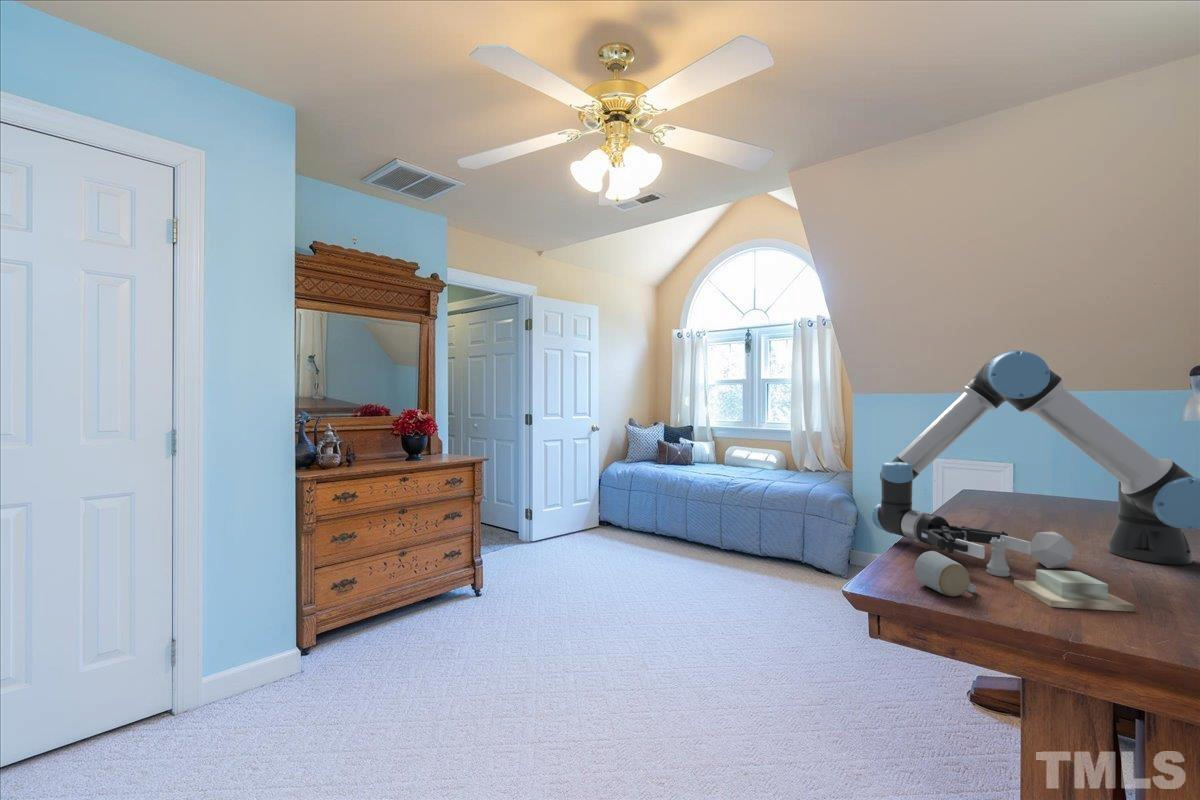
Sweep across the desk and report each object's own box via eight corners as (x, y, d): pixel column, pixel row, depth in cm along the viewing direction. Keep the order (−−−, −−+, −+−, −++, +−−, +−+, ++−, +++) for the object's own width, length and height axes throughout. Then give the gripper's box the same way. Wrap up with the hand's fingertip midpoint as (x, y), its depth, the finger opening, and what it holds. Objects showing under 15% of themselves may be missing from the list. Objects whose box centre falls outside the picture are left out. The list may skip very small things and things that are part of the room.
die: (1081, 576, 128) (1086, 538, 131) (1047, 557, 128) (1053, 520, 132) (1048, 578, 135) (1053, 542, 139) (1016, 560, 135) (1023, 525, 139)
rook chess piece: (989, 575, 125) (989, 539, 125) (983, 570, 130) (984, 535, 130) (1013, 578, 124) (1013, 542, 124) (1007, 572, 128) (1007, 537, 128)
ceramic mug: (940, 599, 111) (941, 561, 111) (912, 585, 118) (913, 550, 118) (987, 598, 112) (988, 560, 112) (956, 584, 120) (957, 549, 120)
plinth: (1087, 589, 117) (1088, 569, 117) (1133, 611, 105) (1134, 589, 105) (1014, 585, 119) (1014, 565, 119) (1051, 606, 107) (1051, 584, 107)
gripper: (963, 539, 149) (1047, 562, 128) (886, 546, 141) (962, 571, 121) (963, 511, 149) (1048, 529, 128) (886, 516, 141) (963, 536, 121)
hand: (1007, 550), depth 125 cm, fingers open, 13 cm apart
